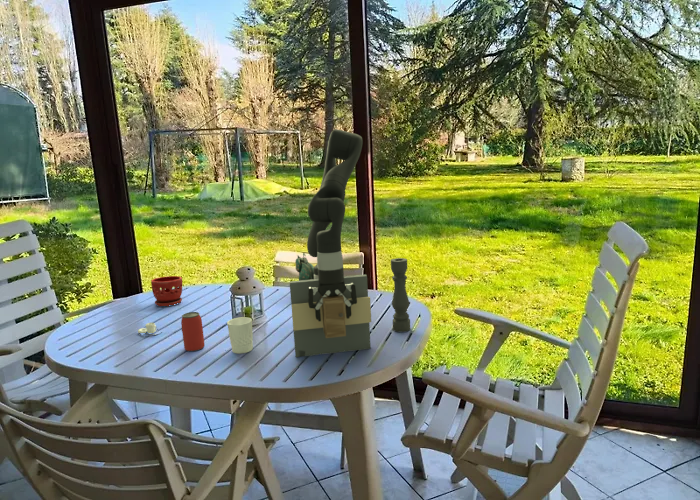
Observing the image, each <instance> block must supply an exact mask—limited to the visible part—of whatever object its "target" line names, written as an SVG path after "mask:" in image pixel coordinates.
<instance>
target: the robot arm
mask: <svg viewBox="0 0 700 500" xmlns="http://www.w3.org/2000/svg"><path fill="white" fill-rule="evenodd" d="M363 142H364V141H363V137H362V136H361V135H359V134H357V133H354V132H349V131H346V130H341V129H333V130H332V131H331V132H330V135H329V138H328V141H327V148H326V155H325V162H324V169H323V174H322V178H321V182H320V187H319V190H318V191H316V193H315V195H313V197H312V198H311V199H310V201H309V204H308V208H307V215H308V218H309V219H310V220H311V221H312V224H311V226H310V227H311V228H310V230H309V233H308V237H307V242H306V247H307V252H308V255H309V256H311V257H312V258H316V265H313V267H314V269H313V271H314V279H318V281H319V285H318V287H314V288H312V287H311V286H310V287H309V288H308V304H309V308H314V309H315V316H316V319H317V320H318V321H321V314H320V307H321V305H322V304H323V298H327V297H332V296H343V297H344V302H345V303H346V305H345V306H346V318H347V319H349V317H350V316H351V306H352V305H353V304H356V303H357V297H356V288H355V285H354V283H350V284H347V285H345V283H344V276H345V274H344V259H343V253H342V252H343V251H342V241H341V240H342V238H341V237H342V228H343V227H342V226H343V222H344V219H345V215H346V205H345V202H344V201H345V197H346V188H347V185H348V182H349V179H350V177H351V175H352V173H353V171H354V169H355V167H356V165H357V162H358V160H359V159H360V157H361V152H362V148H363ZM337 160H341V161H342V162H341V163H339V164H337ZM330 224H331V226H330V228H328V227H329V225H330ZM327 228H328V229H327ZM346 288H347V289H348V290H349V291H351V298H352V299H351V300H348V299H347V298H346V297H345V295H344V294H343V293H344V291H345V290H346ZM317 291H318V292H319V293H320V294H321V295H320V297H319V299H318V301H317V302H316V304H315V303H313V295H315V294H316V292H317Z"/></svg>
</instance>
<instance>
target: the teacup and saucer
mask: <svg viewBox="0 0 700 500" xmlns="http://www.w3.org/2000/svg"><path fill="white" fill-rule="evenodd" d="M156 329H158V328H157V325H156V323H155V322H148V323H146V324H145V327H141V328H139V329H138V330H137V332H138V334H139V333H146V332H148V333H154V332H157V331H156ZM148 333H146V334H148ZM154 334H155V333H154Z"/></svg>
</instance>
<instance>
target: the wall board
mask: <svg viewBox="0 0 700 500" xmlns="http://www.w3.org/2000/svg"><path fill="white" fill-rule="evenodd" d="M344 283H345V285H347V284H350V283H354V285H355V288H356V297H357V303H356V304H353V305H352V306H351V316H350V317H349V319H347V318H346V306H345V305H346V303H345V302H344V310H345V328H346V336H342V337H333V338H326V337H325V334H324V331H323V315H322V305H321V307H320V314H321V321H318V320H317V319H316V316H315V309H314V308H309V304H308V288H309V287H310V286H311V287H312V288H314V287H318V285H319V281H318V279H312V280H301V281H299V280H292V281H289V292H290V303H291V304H290V305H291V316H292V318H291V319H292V329H293V342H294V355H295V358H300V357H310V356H318V355H319V354H320V355H327V354H335V353H345V352H346V353H347V352H352V351H362V350H369V349H372V347H371V332H370V331H371V330H370V328H371V326H370V323H372V309H371V308H372V307H371V306H372V305H371V296H369V291H368V276H367V274H356V275H355V274H354V275H347V276H346V275H344ZM343 294H344V295H345V297H346V298H347V299H348V300H351V299H352V298H351V291H349V290H348V289H347V288H346V290H345V291H344V293H343ZM320 295H321V294H320V293H319V292H318V291H317V292H316V294H315V295H313V303H315V304H316V302H317V301H318V299H319V297H320ZM320 355H319V356H320Z"/></svg>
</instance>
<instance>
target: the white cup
mask: <svg viewBox="0 0 700 500" xmlns="http://www.w3.org/2000/svg"><path fill="white" fill-rule="evenodd" d="M226 325H227V329H228V336H229V337H228V338H229V340H230V341H229V342H230V346H231V352H232V353H233V354H238V355H239V354H240V355H241V354H246V353H249V352H251V351H252V350H253V349H254V346H253V345H254V343H253V341H254V339H253V338H254V337H253V335H254V334H253V319H252V318H250V317H247V316H246V317H245V316H242V317H241V316H240V317H235V318H232V319H229V320H228V321H227V323H226Z"/></svg>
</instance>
